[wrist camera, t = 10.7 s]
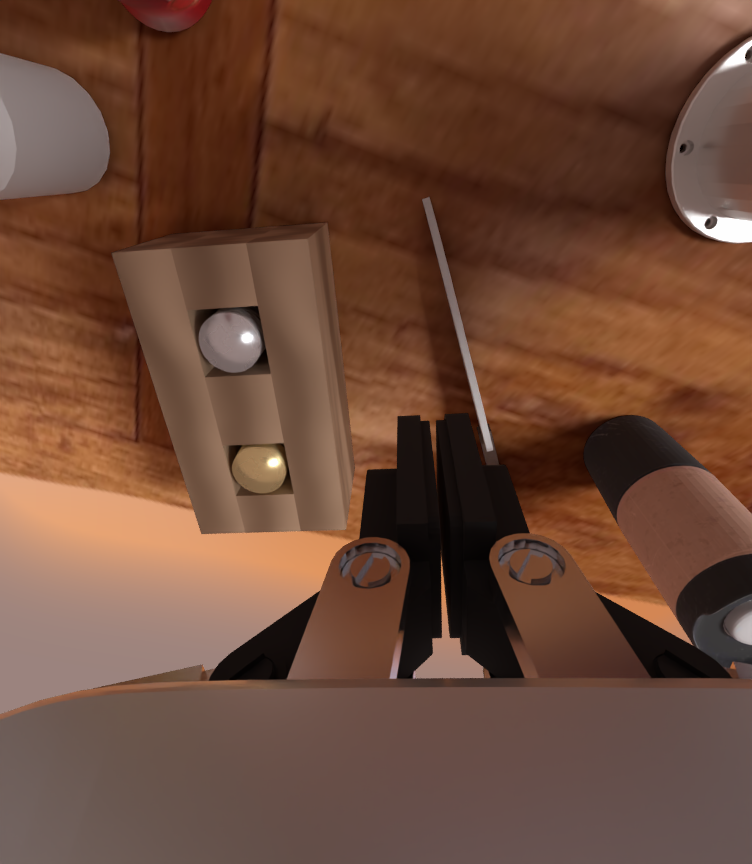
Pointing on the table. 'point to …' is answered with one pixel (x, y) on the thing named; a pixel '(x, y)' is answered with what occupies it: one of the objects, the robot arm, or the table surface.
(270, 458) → the brass peg
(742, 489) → the table surface
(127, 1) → the liquor
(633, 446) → the travel mug
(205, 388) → the socket block
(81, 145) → the can
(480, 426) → the kitchen knife
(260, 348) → the steel peg
